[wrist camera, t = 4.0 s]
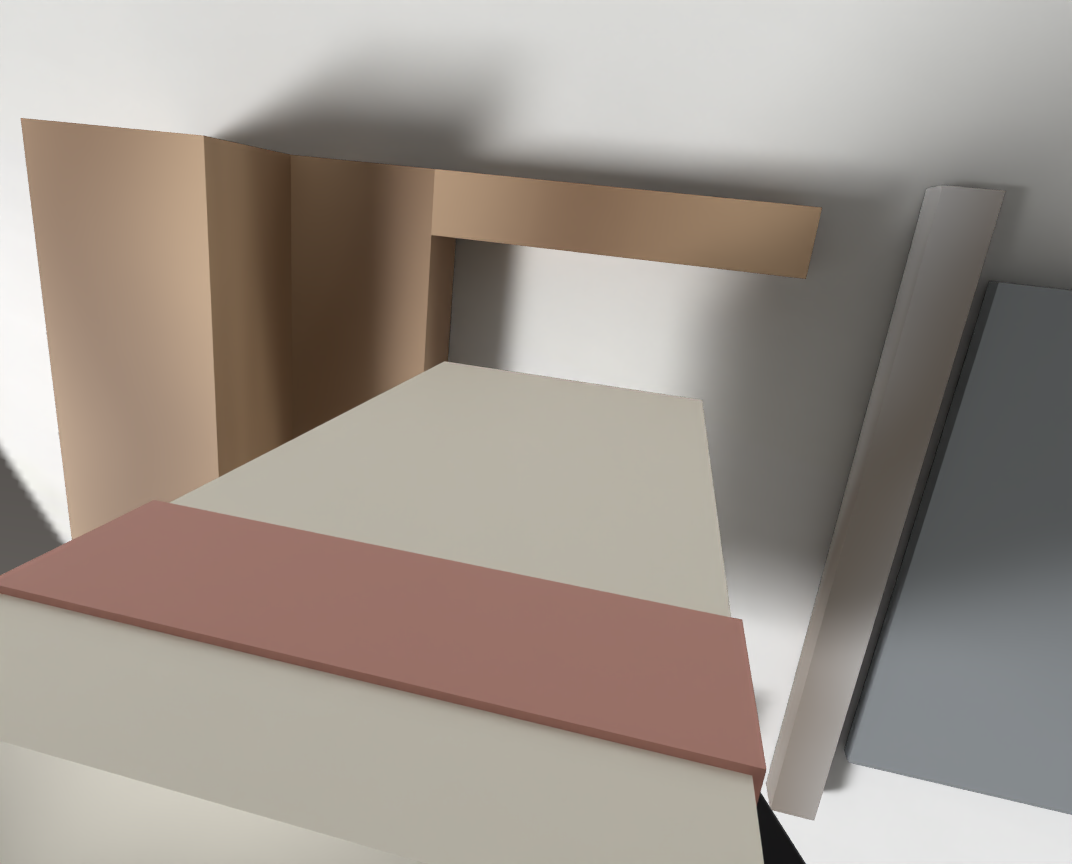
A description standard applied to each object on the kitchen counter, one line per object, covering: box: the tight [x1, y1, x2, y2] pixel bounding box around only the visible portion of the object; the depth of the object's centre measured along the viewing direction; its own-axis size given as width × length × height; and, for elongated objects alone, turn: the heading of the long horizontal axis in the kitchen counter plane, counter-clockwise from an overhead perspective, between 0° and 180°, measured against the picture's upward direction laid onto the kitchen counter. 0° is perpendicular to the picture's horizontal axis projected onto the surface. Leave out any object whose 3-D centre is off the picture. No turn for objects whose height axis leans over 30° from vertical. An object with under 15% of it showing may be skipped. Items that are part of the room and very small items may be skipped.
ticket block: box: [0, 361, 766, 864], centre depth 7 cm, size 4×7×8 cm, turn 174°
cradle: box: [21, 118, 1006, 820], centre depth 14 cm, size 16×14×4 cm
